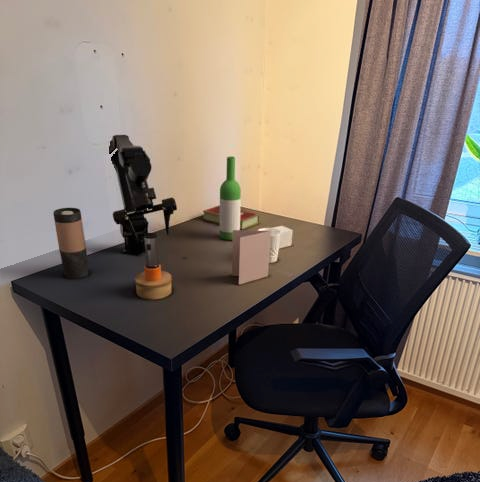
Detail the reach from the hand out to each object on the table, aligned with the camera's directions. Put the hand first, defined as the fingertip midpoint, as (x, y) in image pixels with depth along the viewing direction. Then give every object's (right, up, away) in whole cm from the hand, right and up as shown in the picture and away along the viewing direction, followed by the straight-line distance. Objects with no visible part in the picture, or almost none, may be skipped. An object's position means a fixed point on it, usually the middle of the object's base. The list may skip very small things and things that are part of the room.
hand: (152, 238), depth 133 cm
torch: (+1, -12, -6) cm, 13 cm away
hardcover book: (+22, +16, +57) cm, 63 cm away
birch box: (+1, -16, -4) cm, 16 cm away
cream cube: (+41, +3, +34) cm, 53 cm away
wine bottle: (+22, +6, +39) cm, 45 cm away
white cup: (+36, -4, +20) cm, 41 cm away
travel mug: (-25, -10, +6) cm, 27 cm away
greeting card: (+29, -12, +5) cm, 32 cm away
